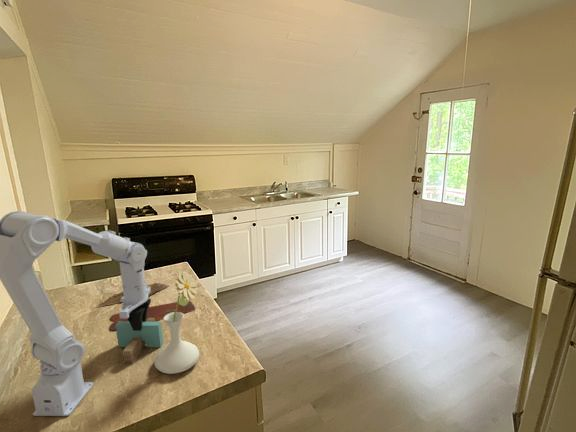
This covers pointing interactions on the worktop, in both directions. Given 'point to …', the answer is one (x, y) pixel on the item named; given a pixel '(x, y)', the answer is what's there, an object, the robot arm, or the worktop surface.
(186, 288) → the flower in vase
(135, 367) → the worktop surface
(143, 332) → the teal arch block
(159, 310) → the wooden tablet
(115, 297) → the wooden fragment
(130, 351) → the brown wooden bar
